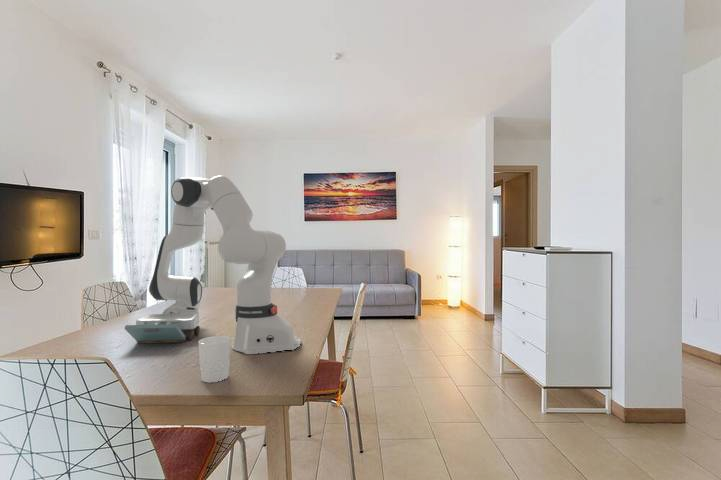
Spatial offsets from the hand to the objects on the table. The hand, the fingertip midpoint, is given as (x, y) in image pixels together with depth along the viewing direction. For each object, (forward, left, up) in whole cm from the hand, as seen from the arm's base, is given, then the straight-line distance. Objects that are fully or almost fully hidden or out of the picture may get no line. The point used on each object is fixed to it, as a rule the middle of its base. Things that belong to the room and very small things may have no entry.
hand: (157, 329), depth 126 cm
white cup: (-28, +32, -6) cm, 43 cm away
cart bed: (0, -10, -5) cm, 11 cm away
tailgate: (0, -3, -4) cm, 5 cm away
